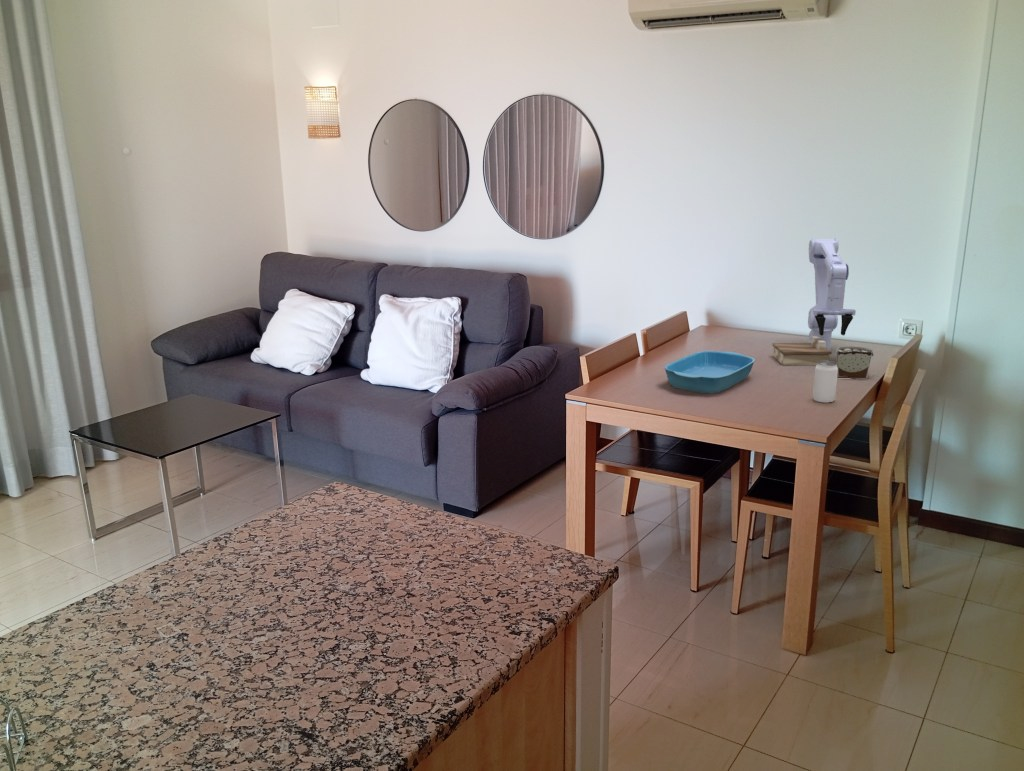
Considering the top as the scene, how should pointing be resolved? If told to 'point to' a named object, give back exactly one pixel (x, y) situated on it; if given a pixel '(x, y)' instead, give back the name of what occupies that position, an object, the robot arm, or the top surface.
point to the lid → (803, 347)
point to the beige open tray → (799, 358)
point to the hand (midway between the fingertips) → (831, 334)
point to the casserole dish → (709, 371)
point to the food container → (853, 361)
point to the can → (825, 381)
